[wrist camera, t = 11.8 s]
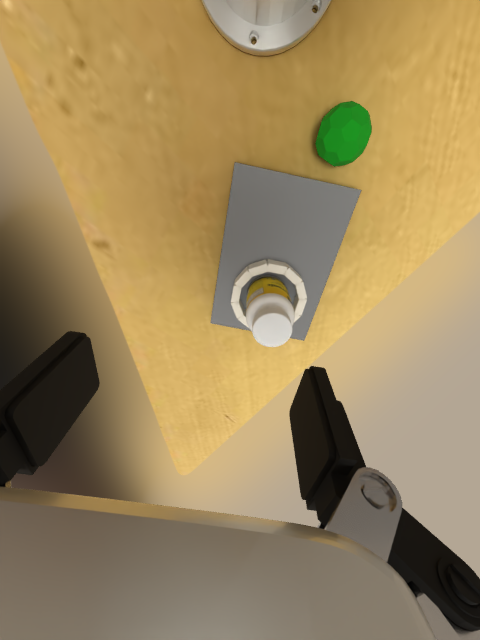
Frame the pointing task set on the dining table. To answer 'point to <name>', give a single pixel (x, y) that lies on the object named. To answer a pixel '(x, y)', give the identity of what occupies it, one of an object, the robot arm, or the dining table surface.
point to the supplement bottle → (269, 311)
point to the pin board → (279, 241)
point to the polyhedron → (343, 133)
